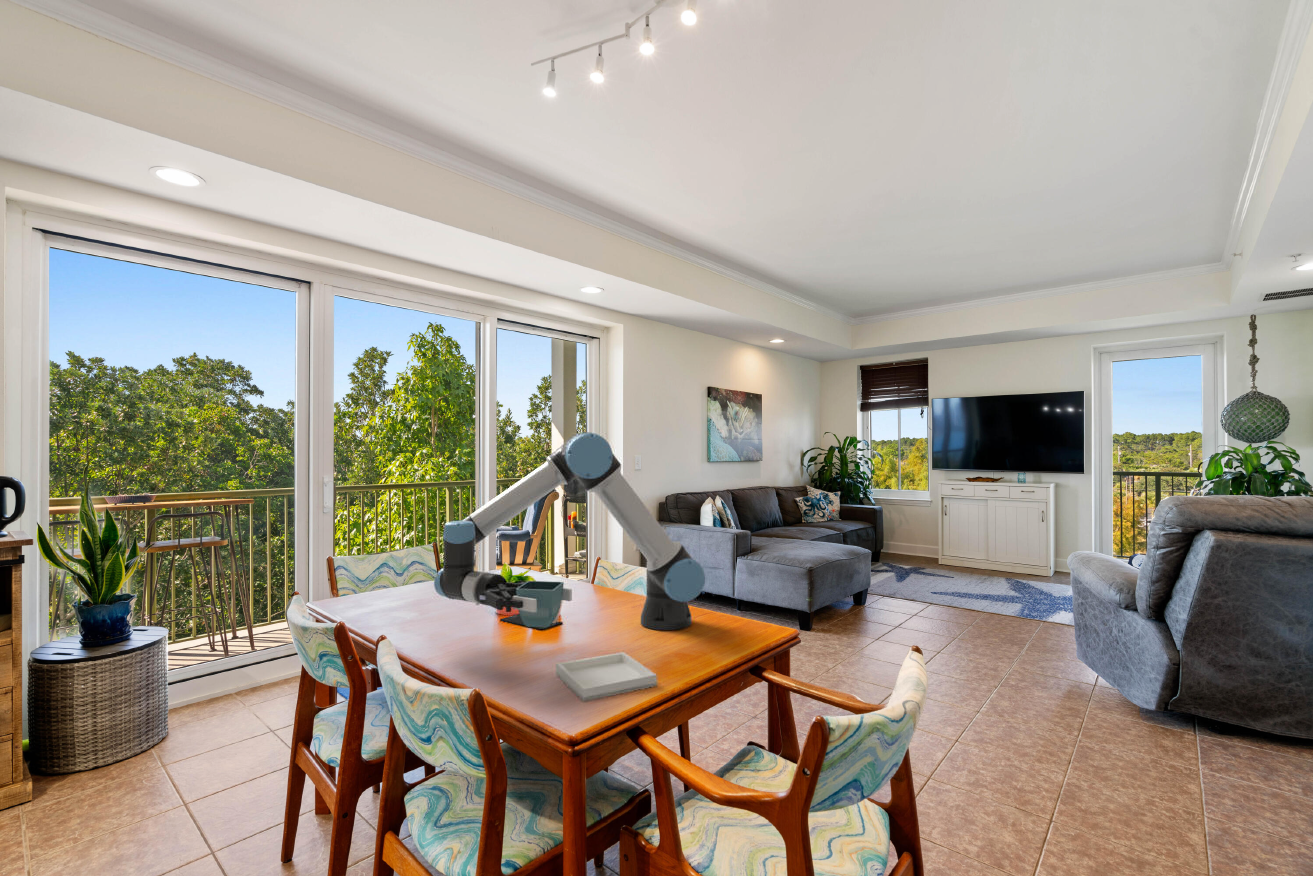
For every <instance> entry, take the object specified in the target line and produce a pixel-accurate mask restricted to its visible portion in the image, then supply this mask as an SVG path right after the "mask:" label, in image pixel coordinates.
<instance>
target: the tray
mask: <svg viewBox="0 0 1313 876" xmlns="http://www.w3.org/2000/svg"><path fill="white" fill-rule="evenodd" d="M555 676H557V678H559V679H560V680H561V681H562V682H563V684H564V685H566V686H567V687H568V688H569V689H570V691H572V692H573V693H574V694H575V695H576V696H577V697H578V698H579V699H580V700H581V701H582V702H588V701H592V700H597V699H602V698H607V697H606V696H608V697H612V695H613V696H616V694H617V695H620V693H622V694H626V693H625V692H627V693H630V691H632V692H634V691H633V690H637V691H639V690H638V689H642V690H645V688H647V689H650V688H649V687H651V688H654V687H653V686H656V687H657V686H658V683H657V681H658V675H657V673H655V672H653V671H652V670H650V669H649V668H648V667H646V666H645V665H643V664H642V663H640V662H639V661H637V660H636V659H634V658H633V657H632V656H630V655H628V654H627V653H626V652H625V651H623V652H615V653H610V654H606V655H605V654H604V655H598V656H592V657H588V658H581V659H576V660H570V661H564V662H558V663H557V662H556V664H555Z"/></svg>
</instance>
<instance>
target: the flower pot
mask: <svg viewBox="0 0 1313 876" xmlns="http://www.w3.org/2000/svg"><path fill="white" fill-rule="evenodd" d="M525 582H526V583H524V584H523V585H521V586H520V587H518V588H517V589H516V593H517V596H521V597H526V598H532V599H537V612H535V613H534V612H528V611H523V610H518V614H520V617H521V619H522V621H523V622H524V624H525V625H526V626H528V627H548V626H549V625H550V624H551V623H552V622H553V621H554V620H555V619H556V618H557V616H558V614H559V612H560V609H561V605H562V602H563V600H562V594H563V588H564V585H565V584H564V582H563V581H547V580H546V581H545V580H528V581H525Z"/></svg>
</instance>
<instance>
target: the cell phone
mask: <svg viewBox="0 0 1313 876" xmlns="http://www.w3.org/2000/svg"><path fill="white" fill-rule="evenodd" d="M501 621H503V622H502V623H505V622H507V623H506V624H510V623H511V625H514V626H518V625H519V627H523V628H527V629H530V630H531V629H532V630H535V629H536V631H541V632H543V630H544V631H547V630H549V629H553V628H555V627H558V625H559V626H562V625H563V623H564V622H563V621H560V620H558V621H559V622H556V623H551V624H550V625H549V626H548V627H528V626H526V625H525V624H524V622H523V621H522V619H521V617H520V614H519V613H517V614H512V615H509V616H506V617H503V618H500V619H499V622H501ZM546 629H547V630H546Z"/></svg>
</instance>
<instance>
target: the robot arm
mask: <svg viewBox="0 0 1313 876" xmlns="http://www.w3.org/2000/svg"><path fill="white" fill-rule="evenodd" d="M621 469H622V464H621V463H620V461H619V460H618V458H617V457H616V456H615V454H614V453H613V450H612V447H611V445H610V444H609V442H608V441H607V440H606V439H605V437H603V436H601V435H599V434H597V433H594V432H581V433H579V434H576V435H575V434H574V435H572V436H571V437H569V438H568V439H567V440H566V441H564V443H562V445H561V446H560V447H558V448H557V449H555V451H554V452H552V453H551V454H549V455H548V456H547V457H546V460H545V462H544V463H543V464H542V465H540V466H539V467H537V468H536V469H534V470H532V472H530V473H528V474H527V475H526V476H524V477H523V478H521V479H520V480H518V481H517V482H516V483H514V484H513V485H510V487H509V488H507V489H505V490H504V491H502V492H501V493H499V494H498V495H497V496H495V497H494V498H492V499H491V500H489V501H488V502H487V503H485V504H484V505H482V506H481V507H480V508H478V509H477V510H475V511H474V512H472V513H471V514H470V515H468V516H466V517H465V518H464V519H462V520H453V521H452V520H451V521H447V522H445V524H444V525H443V535H442V538H443V567H442V568H441V569H440V570H439V571H437V574H436V576H435V578H434V580H433V586H434V590H435V592H436V593H437V594H438V595H440V596H441V597H444V598H447V599H449V600H456V601H463V602H469V603H473V604H474V603H475V606H479V605H482V606H483V605H484V606H488V607H489V606H490V607H491V608H494V609H496V610H498V611H502V610H504V608H505V612H506V613H510V612H512V609H513V610H518V611H519V610H523V611H528V612H534V613H535V612H537V599H532V598H526V597H521V596H517V593H516V589H517V588H518V587H520V586H521V585H523V584H524V583H526V582H527V581H523V580H521V581H518V582H513V581H507V579H506V578H505V576H503V575H501V574H498V573H497V574H496V573H491V572H485V571H477V570H475V568H476V567H475V565H476V562H475V558H476V557H475V556H476V554H475V552H476V545H477V544H479V543H480V542H482V541H483V540H484V539H485V538H487V537H488V536H490V535H492V533H494V532H495V531H497V530H499V528H501V527H503V526H504V525H505V524H507V523H508V522H509V521H511V520H512V519H514V518H516V516H518V515H519V514H521V513H522V512H524V511H525V510H527V509H528V508H529V507H531V506H532V505H534V504H536V503H537V502H538V501H539V500H541V499H542V498H543V497H546V496H547V495H548V494H549V493H551V492H552V491H553V490H556V489H557V488H558V487H559V486H561V485H566V486H567V485H568V484H570V483H571V482H573V481H574V480H576V479H577V481H578V482H579V483H580V485H581V486H582V487H583V488H584V489H585V491H586V492H589V493H594V494H596V496H597V497H598V499H599V500H600V501H601V502H602V504H603V505H604V506H605V507H606V509H607V510H608V511H609V512H610V514H611V515H612V517H613V518H614V519H615V521H616V522H617V523H618V525H619V526H620V527H621V528H622V529H623V530H624V532H625V533H626V535H627V536H628V537H629V538H630V541H632V542H633V544H634V545H635V546H636V548H637V549H638V550H639V551H640V553H641V554H642V555H643V557H644V558H645V559H646V597H645V600H644V604H643V607H642V610H641V611H642V612H641V614H640V625H641V626H642V625H643V626H642V627H644V628H647V629H651V630H657V631H658V630H659V631H675V630H683V629H686V628H689V627H690V626H691V625H692V614H691V613H692V612H691V611H690V608H689V604H688V602H691V601H693V600H694V599H695V598H697V597H699V596H700V594H701V593H702V591H703V589H704V587H705V584H706V573H705V570H704V568H703V567H702V565H701V564H700V563H699V562H698V561H697V560H695V559H693V557H692V556H691V555H690V553H689V552H688V551H687V549H686V547H685V545H683V544H682V543H681V541H673V540H672V539H671V538H670V536H669V535H668V534H667V533H666V531H665V529H664V528H663V527H662V525H660V523H659V521H658V520H656V518H655V517H654V516H653V514H652V513H651V511H650V510H649V508H648V507H647V506H646V505H645V503H644V502H643V500H641V498H640V497H639V495H638V494H637V493H636V491H634V489H633V488H632V486H631V484H629V482H628V481H627V480H626V478H625V477H624V476H623V474H622V473H621V471H622V470H621ZM562 601H565V602H572V601H573V589H572V588H567V587H563V594H562ZM688 626H689V627H688Z"/></svg>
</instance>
